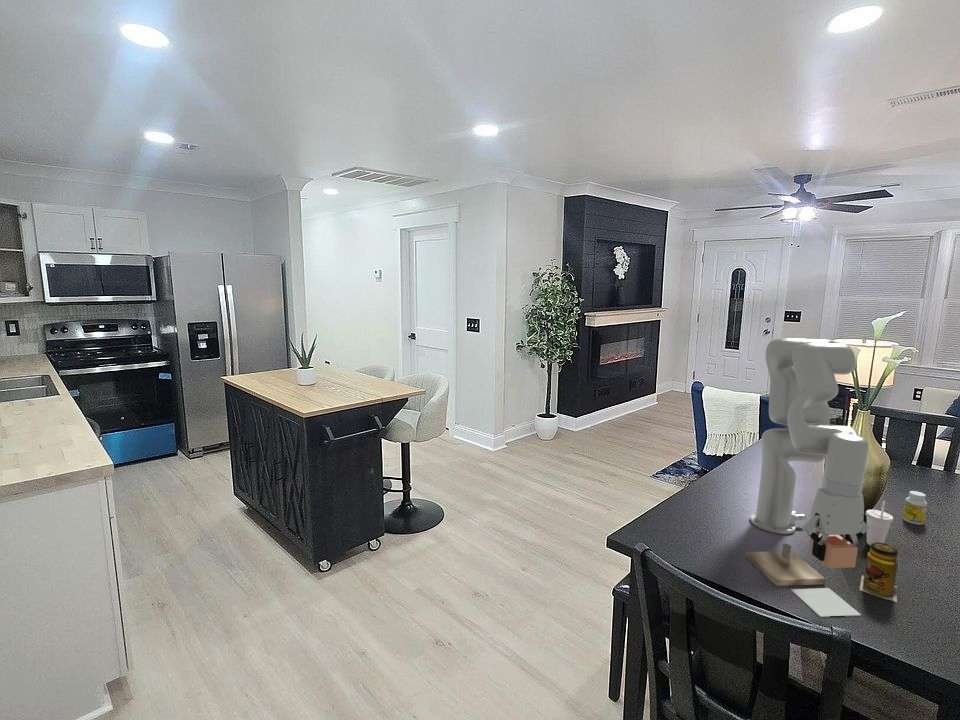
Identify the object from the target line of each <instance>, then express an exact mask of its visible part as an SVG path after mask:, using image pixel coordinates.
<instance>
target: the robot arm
mask: <svg viewBox="0 0 960 720" xmlns="http://www.w3.org/2000/svg"><path fill="white" fill-rule="evenodd" d="M856 362H857V360H856V355H855V352H854V351H853V349H852V348H851V347H850V346H849V345H847V344H846V343H844V342H843V343H842V342H839V341H836V340H831V339H819V338H818V339H817V338H802V337H801V338H800V337H798V338H797V337H796V338H794V337H786V338H785V337H782V338H776V339H772V340H771V341H770V342H768V343H767V346H766V350H765V363H766V366H767V367H766V368H767V371H768V373H769V374H768V375H769V380H770V381H769V396H768V397H769V398H768V416H769V419H770V420H771V422H773V423H775V424H778V425H779V424H780V425H786V426H787V427H788V428H777V427H776V428H769V429H767V430H764V432H763V433H762V434H761V440H760V442H761V443H760V444H761V469H760V477H759V485H758V493H757V494H758V496H757V502H756V503H757V504H756V511H755V512H753V513H751V514H750V517H749V520H750V522H751V523H752V524H753V525H754V526H755V527H757V528H759V529H760V530H764V531H766V532H770V533H773V534H778V535H788V534H789V535H790V534H793V533H794V532H796V528H797V527H796V526H797V525H796V524H795V522H797V521H806V520H807V518H806V517H807V516H806V515H805V514H804V513H801V514H800V513H798V514H797V512H796V511H795V510H793V505H794V500H795V499H794V498H795V491H796V490H795V489H796V482H797V473H796V471H795V469H794V467H792V466H791V464H790V463H789V462H801V463H802V462H806V463H821V462H823V461H824V468H823V474H822V475H823V476H822V483H821V487H819V488H818V489H817V491H816V492H815V495H814V498H813V501H812V504H811V510H810V514H809V520H808V522H806V523H805V524H804V525H803V526H802V529H803V530H804V531H805V533H806V534H807V535H808V536H809V537H810V540H811V539H812V540H814V541H813V548H812V555H814V556H815V557H816V558H817V559H816V558H815V557H814V556H813V557H814V558H815V559H816V560H818V559H819V560H820V561H824V556H825V549H826V546H825V545H824V543H825V541H826V539H827V538H828V536H829V535H840V536H842V535H843V536H844V537H843V538H844V539H846V540H847V541H849V542H850V543H852V544H853V545H855V546H856V545H857V544H859V540H860V539H861V538H862V537H863V536H864V534H866V533H867V531H868V530H869V526H868V525H867V522H865V521H864V517H865V503H864V502H865V501H864V495H863V493H862V492H863V488H865V487H866V482H865V481H864V480H865V474H866V473H865V472H866V465H867V459H868V454H869V442H868V440H867V439H866V438H865V437H863V436H860V433H858V431H857V430H856V429H855V428H854V427H851V426H848V425H840V424H839V425H838V424H831V423H830V422H831V411H830V406H829V403H828V402H829V401H832V400H833V399H834V398H836V397H837V396H838V394H839V391H840V390H839V385H838V383H837V379H836V376H835V375H842V376H843V375H845V376H846V375H849V374H851V373H852V372H853V371H854V369H855V367H856V364H857V363H856ZM820 534H822V535H821V537H819V535H820ZM812 555H811V556H812ZM819 560H818V561H819ZM820 561H819V562H820Z"/></svg>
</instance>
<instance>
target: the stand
mask: <svg viewBox="0 0 960 720" xmlns="http://www.w3.org/2000/svg"><path fill="white" fill-rule="evenodd" d="M781 545H782V547H781V550H774V551H773V550H771V551H770V550H769V551H747V552H746V556H745V557H746V559H747V560H748V561H750V562H751V563H752V564H753V565H754V566H755V567H756V568H757V569H758V570H759V571H760V572H762V573H763V575H765V576H766V578H767V579H768V580H770V581H771V582H772V583H773V584H774V585H775V586H776V587H780V586H782V587H783V586H785V587H786V586H805V585H806V586H809V585H810V586H813V585H816V586H817V585H825V584H826V578H825V576H823V575H821V574H820V573H819V572H818V571H817V570H816V569H814V568H813V567H812V566H811V565H809V564H808V563H807V562H806V561H805V560H803V559H802V558H800V557H799V556H798V555H797V554H796V553H795V552H794V551H792V545H791V544H788V543H782V544H781Z"/></svg>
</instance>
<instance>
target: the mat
mask: <svg viewBox="0 0 960 720" xmlns="http://www.w3.org/2000/svg"><path fill="white" fill-rule="evenodd" d="M790 591H791V592H792V593H793V594H794V595H796V597H797V598H799V599H800V601H802V602H803V603H804V604H805V605H806V606H807V607H808V608H809V609H811V611H813V612H814V613H815V614H816V615H818V617H819V618H831V617H830V616H845V617H861V616H862V613H860V612H859V611H857V610H856V609H855V608H853V606H851V605H850V604H849V603H847V601H845V600H844V599H843V598H842V597H840V596H839V594H837V593H836V592H834V591H833V590H832V589H831V588H829V587H825V588H824V587H819V588H794V589H793V588H792V589H790Z"/></svg>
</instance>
